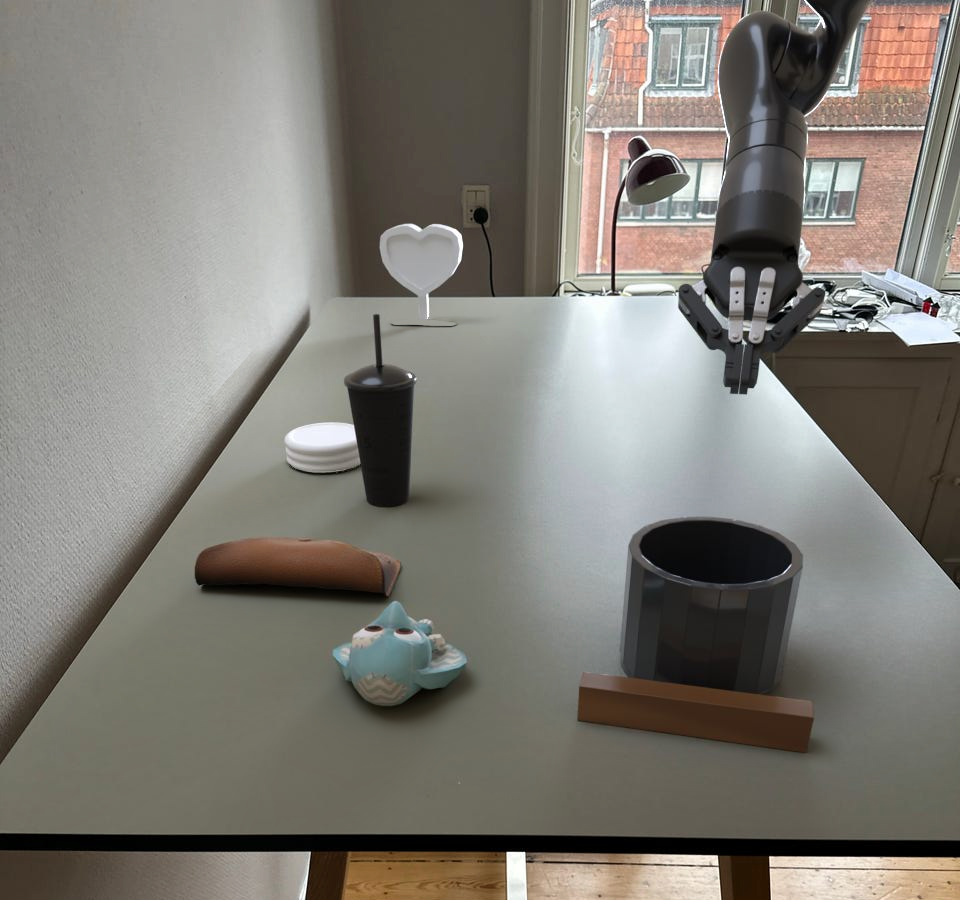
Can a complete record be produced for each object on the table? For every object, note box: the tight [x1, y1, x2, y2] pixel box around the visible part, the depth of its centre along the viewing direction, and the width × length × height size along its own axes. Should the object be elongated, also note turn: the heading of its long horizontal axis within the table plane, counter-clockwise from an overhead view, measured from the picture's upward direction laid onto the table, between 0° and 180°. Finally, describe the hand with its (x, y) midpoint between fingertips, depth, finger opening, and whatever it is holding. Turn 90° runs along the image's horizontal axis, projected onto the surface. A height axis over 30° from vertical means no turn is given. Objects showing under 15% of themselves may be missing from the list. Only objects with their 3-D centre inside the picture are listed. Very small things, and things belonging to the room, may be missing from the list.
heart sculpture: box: [379, 223, 464, 319], centre depth 178 cm, size 16×5×18 cm, turn 81°
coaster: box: [284, 421, 361, 471], centre depth 114 cm, size 10×10×4 cm
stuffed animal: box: [332, 600, 468, 707], centre depth 71 cm, size 11×7×12 cm
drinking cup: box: [343, 313, 417, 508], centre depth 99 cm, size 8×8×20 cm
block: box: [576, 671, 815, 754], centre depth 65 cm, size 2×16×3 cm, turn 76°
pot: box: [619, 516, 804, 696], centre depth 71 cm, size 13×13×10 cm
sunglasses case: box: [194, 536, 402, 597], centre depth 86 cm, size 18×7×7 cm
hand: (739, 389), depth 79 cm, fingers closed
